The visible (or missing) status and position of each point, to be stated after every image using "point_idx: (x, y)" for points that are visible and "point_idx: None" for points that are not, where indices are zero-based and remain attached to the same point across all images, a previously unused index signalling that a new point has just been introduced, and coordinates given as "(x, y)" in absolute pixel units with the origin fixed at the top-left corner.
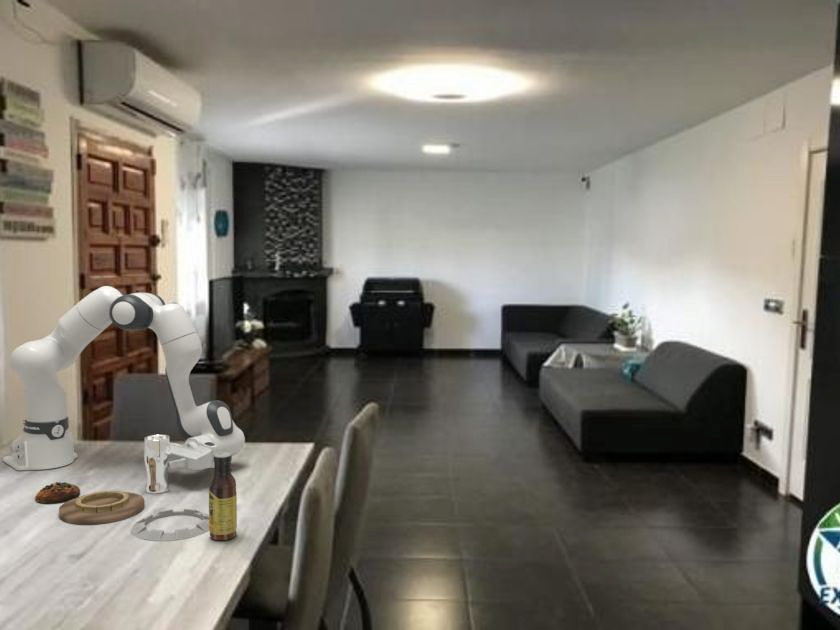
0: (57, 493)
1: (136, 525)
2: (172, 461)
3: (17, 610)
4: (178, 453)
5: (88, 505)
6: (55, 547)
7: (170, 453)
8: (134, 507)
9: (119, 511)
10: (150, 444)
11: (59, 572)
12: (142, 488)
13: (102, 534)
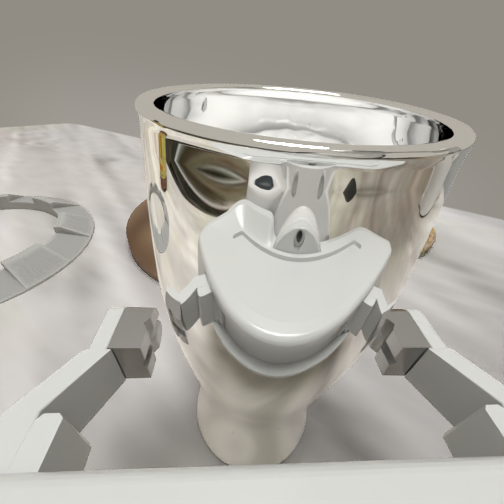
0: None
1: (77, 212)
2: (111, 324)
3: (78, 127)
4: (165, 491)
5: None
6: None
7: (321, 463)
8: (137, 232)
9: None
10: (237, 124)
11: (93, 146)
12: None
13: (124, 188)
